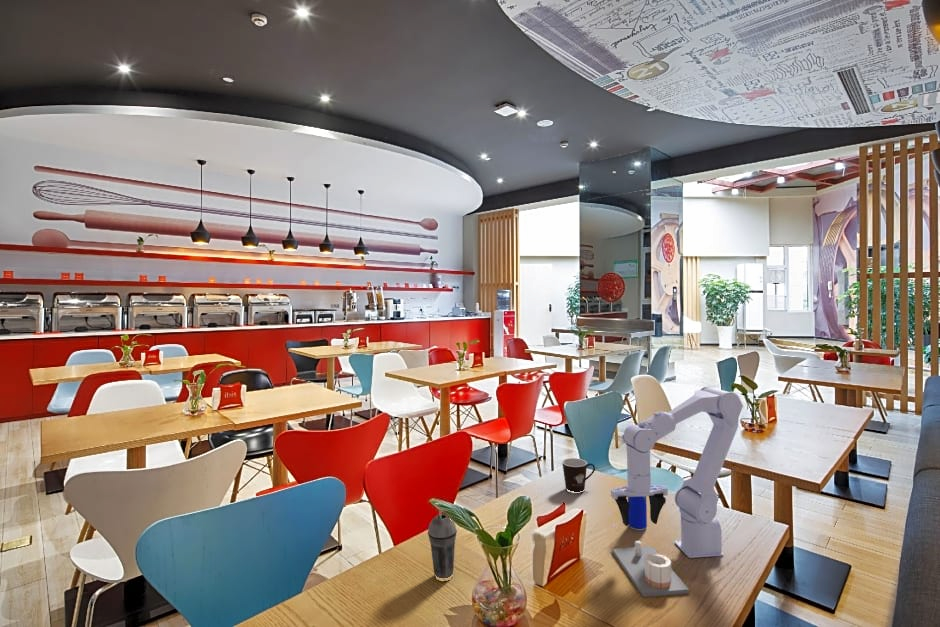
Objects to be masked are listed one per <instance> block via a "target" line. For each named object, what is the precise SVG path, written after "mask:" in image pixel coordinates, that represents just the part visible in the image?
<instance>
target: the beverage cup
mask: <svg viewBox="0 0 940 627" xmlns="http://www.w3.org/2000/svg"><path fill="white" fill-rule="evenodd" d="M438 501H440V502H441V499H438ZM438 512H439V513H438V515H436V516H435V517H434V518H432V520H431V521H430V522H429V525H428V529H427V535H428V539H429V543H430V548H431V549H430V550H431V559H432V560H431V561H432V566H433V575H434V576H435V575H436V576H437V577H439V578H448V577H450V576H451V575H452V574H454V564H455V549H456V546H455V545H456V540H457V538H456V537H457V533H458V531H457V527H456V523H455V521H454V520H453V521H454V522H453V521H451V520H450V519H449V518H448V517H447V516H448V515H447V514H443V513H442V510H441V511H440V510H439V509H438ZM446 515H447V516H446Z"/></svg>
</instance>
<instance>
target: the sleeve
mask: <svg viewBox="0 0 940 627" xmlns="http://www.w3.org/2000/svg"><path fill="white" fill-rule="evenodd" d="M671 569H672V561H671V560H670V558H668V557H667V556H666V555H664V554H659V553H658V554H655V553H654V554H648V555H646V557H645V581H646V582H648V583H649V584H650V585H651V586H654V587H657V588H667V587H669V586H670V585H671Z"/></svg>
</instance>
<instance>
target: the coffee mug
mask: <svg viewBox="0 0 940 627" xmlns="http://www.w3.org/2000/svg"><path fill="white" fill-rule="evenodd" d="M561 463H562V470H563V476H564V483H565V484H564V485H565V489H566V488H567V489H568V490H570V491H574V492H580V491H583V490H584V489H585V488H586V481H587V480H588V479H589V478H591V476H592V475H593V474H594V473H595V471H596V466H595V465H594V464H593V463H588V461H586V459H585V460H584V459H581V458H577V457H576V458H575V457H573V458H572V457H571V458H565V459H563V460H562V462H561ZM589 466H592V471H591V473H589V475H587V468H588V467H589ZM584 491H585V490H584Z"/></svg>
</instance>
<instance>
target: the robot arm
mask: <svg viewBox="0 0 940 627" xmlns="http://www.w3.org/2000/svg"><path fill="white" fill-rule="evenodd" d="M743 407H744V405H743V404H742V401H741V399H740V396H739V395H738V394H737V393H735V392H733V391H727V390H723V389H720V388H715V387H713V386H709V385H706V386H702V387H701V388H700V389H698V390H695V391H694V394H693V395H692V396H691V397H689V398H687V399H686V400H684V401H683V402H682V403H680V404H679V405H676V406H675V407H674V408H672V409H671V410H669V411H668V412H666V411H664V410H663V411H662V410H661V411H658V410H657V411H655V412H654V413H653V415H652V416H650V417H649V418H647V419H645V420H641V421H639V423H638V424H631V425H629V426H627V427H626V428H625V429H624V432H623V434H621V439H622V441H623V442H624V444H625V447H626V468H627V470H626V471H627V472H626V473H627V474H626V475H627V480H626V481H627V485H624V486H621V487H616V488H611V489H610V497H611V498H612V499H613V500H614V501H615V503H616V505H617V507H618V509H619V512H620V515H621V519H622V524H623V525H624V526H625V527H630V526H629V507H630V503H629V502H628V497H637V496H646V497H648V500H649V509H650V510H649V518H650V521H651V523H653V524H654V525H657V524H658V520H659V515H660V513H661V511H662V509H663V507H664V505H665V504H666V501H667V498H666V497H667V496H668V487H667V486H665V485H663V484H662V485H654V484H652V483H651V481H652V479H651V476H652V474H651V450H652V449H653V448H654V447H655V444H656V443H657V442H658V441H659V440H661V439H662V438H664V437H666V436H667V435H669V434H671V433H673V432H674V431H675V429H676V428H677V427H676V425H677V424H678V423H681V422H683V421H685V420H687V419H689V418H691V417H693V416H695V415H697V414H699V413H701V412H702V413H703V412H704V413H706V414H707V415H708V416H709V418H710V420H711V422H712V424H713V425H712V428H711V430H710V432H709V436H708V438H707V441H706V443H705V445H704V448H703V450H702V453H701V455H700V458H699V459H698V462H697V464H696V468H695V470H694V473H693V475H692V477H690V478H688V479H685V480H683V482H682V485H681V487H680V488H678V489H677V491H676V492H675V494H674V502H675V505H676V506H677V507H678V508H679V513H680V540H674V544H675V545H676V546H677V547H678V548H679V549H680V550H681V551H682V552H683V553H684V554H685V555H686V556H687V557H688V558H690V559H695V558H708V557H709V558H710V557H722V556H724V552H722V549H723V548H722V547H723V545H722V544H723V542H722V541H723V540H722V539H723V538H722V535H723V534H722V527H721V524H720V521H719V520H718V518H717V517H716V516H717V511H718V508H717V507H718V506H717V505H718V502H719V500H720V499H719V496H718V494H717V492H716V490H715V485H716V483H717V480H718V478H719V476H720V473H721V471H722V468H723V465H724V463H725V460H726V458H727V456H728V454H729V451H730V448H731V445H732V442H733V440H734V438H735V435H736V434H737V430H738V428H739V418H740V414H741V413H742V412H741V411H742V409H743ZM664 496H666V497H664Z"/></svg>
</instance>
